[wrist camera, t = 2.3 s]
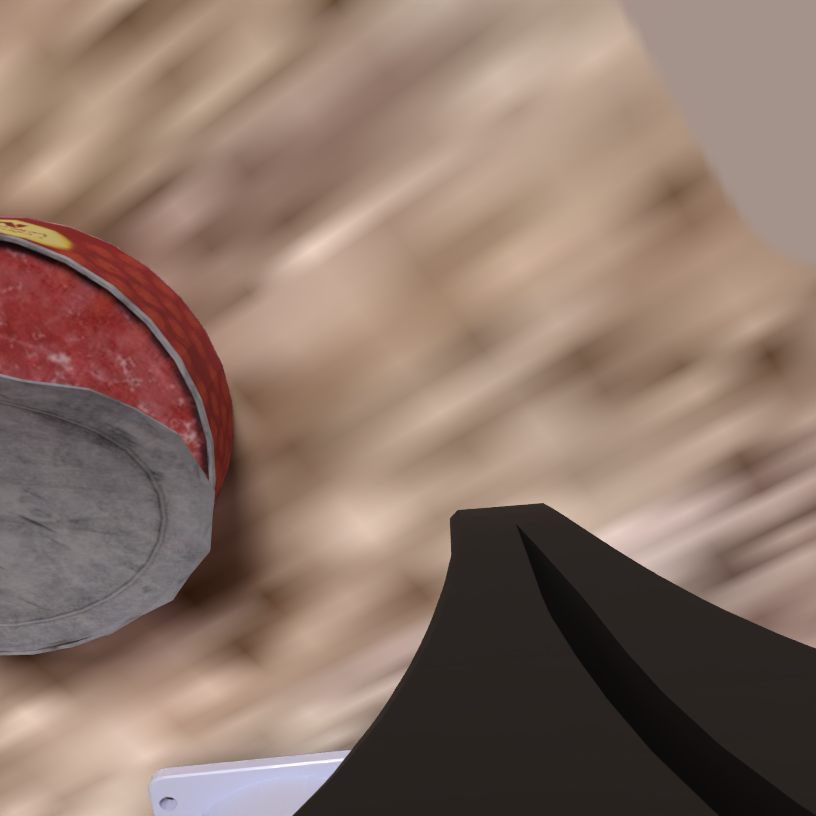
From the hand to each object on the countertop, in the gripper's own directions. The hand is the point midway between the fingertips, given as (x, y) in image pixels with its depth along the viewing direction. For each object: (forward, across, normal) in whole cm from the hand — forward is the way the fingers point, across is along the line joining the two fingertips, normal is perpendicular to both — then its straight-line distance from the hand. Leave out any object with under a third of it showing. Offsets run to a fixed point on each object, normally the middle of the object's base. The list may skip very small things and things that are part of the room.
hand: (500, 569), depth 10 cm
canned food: (+9, +10, 0) cm, 14 cm away
